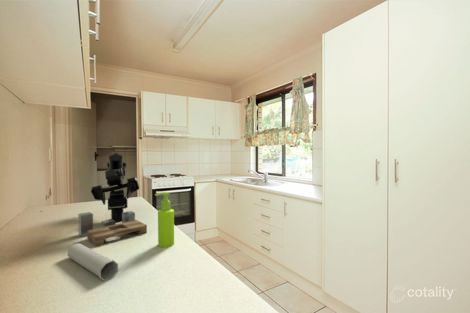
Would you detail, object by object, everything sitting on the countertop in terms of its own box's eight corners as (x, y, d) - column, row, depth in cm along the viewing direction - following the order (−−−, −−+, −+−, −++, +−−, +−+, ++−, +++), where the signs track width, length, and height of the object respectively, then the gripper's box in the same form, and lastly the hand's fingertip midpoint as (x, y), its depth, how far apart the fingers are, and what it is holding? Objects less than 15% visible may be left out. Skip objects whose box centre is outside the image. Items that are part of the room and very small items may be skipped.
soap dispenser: (154, 243, 89) (154, 192, 89) (173, 240, 92) (172, 190, 91) (156, 249, 84) (155, 194, 83) (175, 245, 86) (174, 193, 86)
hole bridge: (87, 239, 94) (87, 230, 94) (136, 227, 108) (136, 219, 108) (95, 246, 86) (95, 237, 86) (146, 232, 101) (146, 224, 101)
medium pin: (122, 225, 112) (122, 212, 112) (131, 222, 115) (131, 211, 115) (125, 227, 109) (125, 214, 109) (135, 224, 112) (134, 212, 112)
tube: (61, 248, 76) (96, 269, 61) (78, 238, 80) (115, 256, 65) (67, 261, 77) (103, 285, 63) (84, 251, 81) (121, 271, 67)
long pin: (78, 234, 99) (78, 214, 99) (90, 232, 102) (89, 212, 102) (81, 237, 96) (80, 215, 96) (93, 234, 99) (92, 213, 99)
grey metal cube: (101, 229, 105) (101, 221, 105) (112, 227, 109) (111, 219, 109) (104, 232, 102) (104, 223, 102) (115, 229, 106) (115, 220, 105)
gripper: (88, 169, 101) (83, 193, 90) (132, 160, 107) (134, 181, 95) (96, 188, 108) (93, 212, 96) (138, 178, 114) (140, 200, 102)
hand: (115, 201), depth 97 cm, fingers open, 9 cm apart
